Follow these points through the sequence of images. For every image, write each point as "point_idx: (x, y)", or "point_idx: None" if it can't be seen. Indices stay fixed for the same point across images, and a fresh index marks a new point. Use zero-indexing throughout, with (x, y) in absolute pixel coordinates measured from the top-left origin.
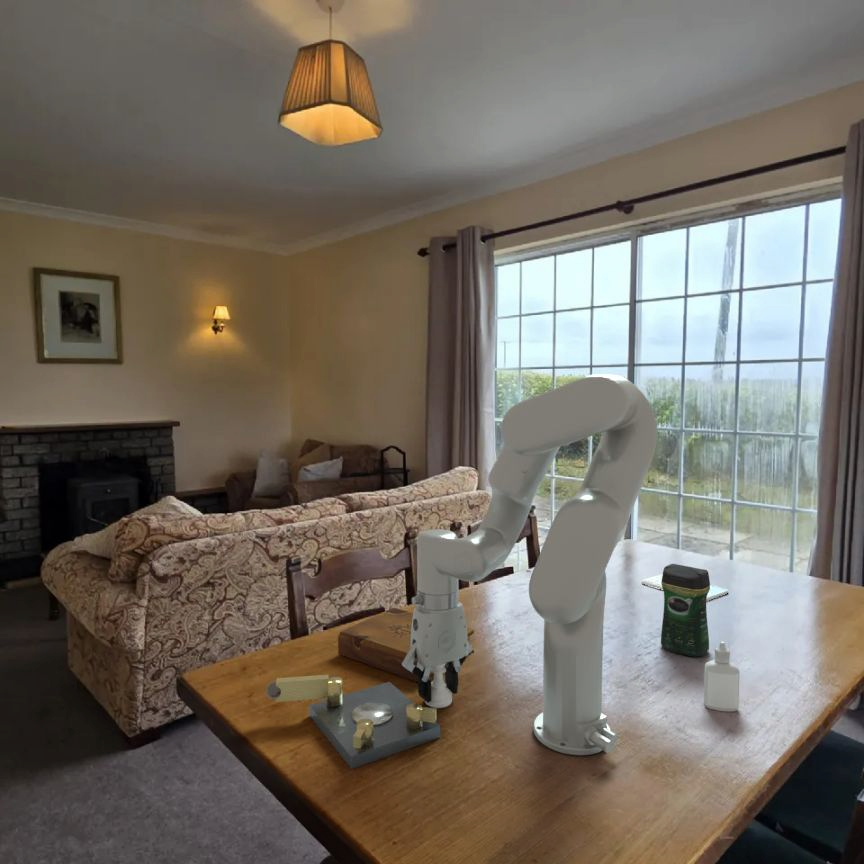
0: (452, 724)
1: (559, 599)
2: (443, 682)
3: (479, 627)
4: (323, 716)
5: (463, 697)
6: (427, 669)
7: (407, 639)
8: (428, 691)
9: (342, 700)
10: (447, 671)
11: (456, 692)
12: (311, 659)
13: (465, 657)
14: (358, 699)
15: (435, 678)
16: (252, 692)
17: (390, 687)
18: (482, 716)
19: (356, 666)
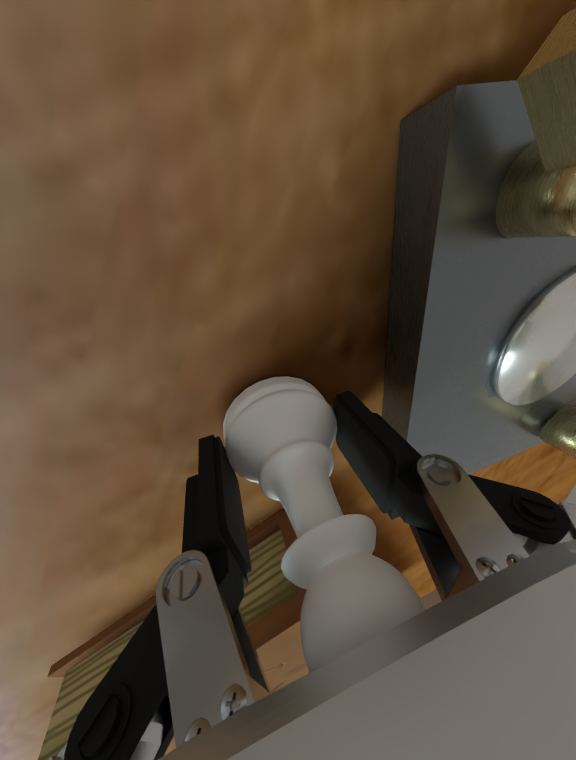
0: (293, 224)
1: None
2: (283, 476)
3: (10, 752)
4: None
5: (163, 433)
6: (484, 531)
7: (298, 678)
8: (376, 417)
9: (556, 424)
10: (245, 552)
11: (204, 438)
12: (425, 568)
13: (74, 738)
14: (509, 431)
15: (334, 494)
16: (540, 486)
17: None
18: (89, 231)
19: None
